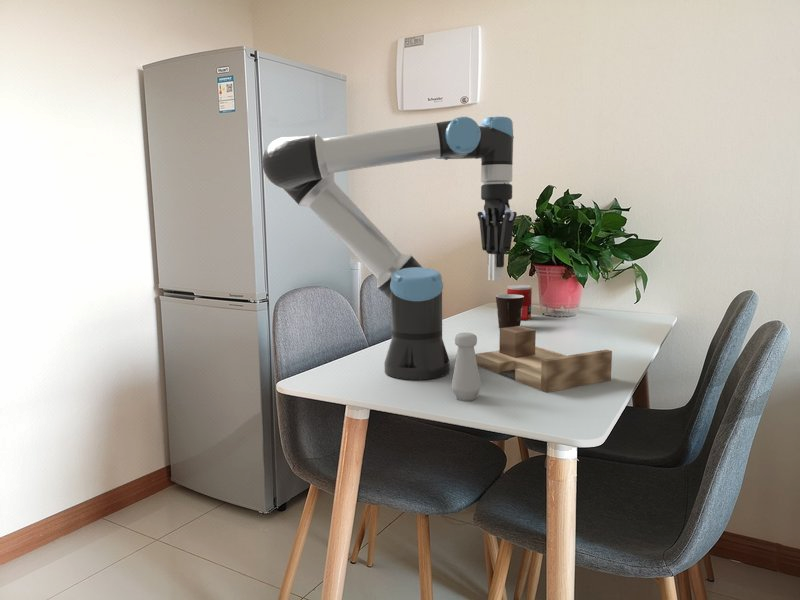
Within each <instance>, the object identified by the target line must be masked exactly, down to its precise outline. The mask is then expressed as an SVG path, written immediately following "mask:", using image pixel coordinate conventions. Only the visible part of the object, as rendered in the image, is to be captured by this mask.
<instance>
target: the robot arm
mask: <svg viewBox="0 0 800 600" xmlns="http://www.w3.org/2000/svg"><path fill="white" fill-rule="evenodd" d="M513 123H514V122H513V120H512V118H510V117H507V116H489V117H484V118H483V119H482V120H481V124H480V126H479V124H478V122H477V121H475V120H474V119H473V118H471V117H468V116H459V117H455V118H453V119H452V120H446V121H445V120H444V121H440V122H431V123H423V124H418V125H417V124H416V125H410V126H409V125H408V126H403V127H395V128H389V129H388V128H387V129H382V130H381V129H380V130H375V131H366V132H361V133H352V134H351V133H350V134H345V135H337V136H333V137H332V136H331V137H322V136H321V135H319V134H309V135H297V136H282V137H279V138H277V139H274V140H273V141H272V142H270V143H269V144H268V145H267V147H266V148H265V150H264V151H263V153H262V154H263V155H262V160H261V161H262V163H261V164H262V169H263V172H264V175H265V177H266V178H267V179H268V180H269V181H270V182H271V183H272V184H273V185H275V186H276V187H279V188H281V189H283V190H284V192H286V193H287V194H288V195H289V196H290V197H291V198H292V200H294V202H296V204H297V205H298V206H299V207H308V208H309V209H311V211H312V212H313V213H314V214H316V216H318V218H319V219H320V220H321V221H322V222H323V223H324V224H325V225H326V227H328V228H329V229H330V231H331V232H333V234H335V235H336V237H337V238H338V239H339V240H340V241H341V242H342V243H343V244H344V245H345V246H346V247H347V248H348V249H349V250H350V251H351V253H353V255H355V257H356V258H358V260H359V261H360V263H362V264H363V265H364V266H365V267H366V269H368V270H369V271H370V273H372V275H373V276H374V277H375V278H376V287H377V288H378V290H379V291H380V292H381V293H382V294H383V295H384V296H385V298H387V299H388V300H389V301H390V311H391V312H390V314H391V316H390V317H391V318H390V319H391V322H390V323H391V338H390V339H391V340H390V343H389V346H388V350H387V352H386V356H385V359H384V363H383V364H384V373H385V375H387V376H390V377H392V378H395V379H396V378H397V379H402V380H415V381H416V380H430V379H431V380H432V379H439V378H441V377H444V376H447V375H448V374H450V371H451V362H450V358H449V355H448V352H447V349H446V346H445V341H444V339H443V289H444V282H443V276H442V274H441V272H439V271H438V270H437V269H434V268H429V267H423V266H422V265H421V264H420V263H419V262H418V260H416V259H415V257H414V256H413V255H411V254H405V253H404V254H403V253H402V252H400V251H399V249H398V248H397V247H396V246H395V245H394V244H393V243H392V242H391V241H390V239H388V238H387V236H386V235H385V234H384V233H382V232H381V230H380V229H379V228H378V227H377V226H376V225H375V224H374V223H373V221H372V220H370V218H369V217H368V216H367V215H366V214H365V213H364V212H363V211H362V210H361V209H360V208H359V207H358V206H357V205H356V204H355V203H354V201H352V199H350V197H349V196H348V195H347V194H346V193H345V192H344V191H343V190H342V189H341V188H340V186H338V184H337V183H336V182H335V173H339V172H342V173H343V172H347V171H353V170H354V171H355V170H361V169H367V168H369V169H370V168H374V167H381V166H382V167H383V166H390V165H396V164H403V163H410V162H415V161H425V160H430V159H431V160H432V159H437V160H444V161H447V160H464V159H465V160H469V159H471V160H472V159H477V160H478V159H480V161H481V164H480V165H481V166H480V182H481V183H483V184H481V186H480V199H481V200H482V201H484V206H483V210H482V211H478V212H477V218H478V221H479V229H480V238H481V248H482V251H485V252H486V254H487V267H488V275H487V276H488V277H487V281H492V282H496V281H503V280H504V266H505V254H506V253H509V252H510V251H511V247H512V240H513V234H514V233H513V232H514V226H515V221H516V218H517V215H518V213H517V212H516V211H512V210H511V209H510V208H511V206H510V200H512V199H513V184H511V182H513V163H514V162H513V160H514V159H513V158H514V157H513V156H514V124H513Z"/></svg>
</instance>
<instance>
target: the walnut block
mask: <svg viewBox="0 0 800 600" xmlns="http://www.w3.org/2000/svg"><path fill="white" fill-rule="evenodd" d="M536 331H537V330H536V329H534V328H529V327H526V326H525V327H524V326H521V325H520V326H515V327H507V328H499V347H498V348H499V349H498V351H499V353H502V354H504V355H507V356H510V357H513V358H518V357H525V356H532V355H535V346H536V337H537V336H536Z"/></svg>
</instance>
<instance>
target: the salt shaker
mask: <svg viewBox="0 0 800 600" xmlns="http://www.w3.org/2000/svg"><path fill="white" fill-rule="evenodd" d="M477 337H478V336H477V335H476V334H475V333H472V332H459V333H457V334H456V335H455V337H454V344H455V345H456V346H457V352H456V358H455V362H454V363H455V364H454V370H453V375H452V380H451V386H450V387H451V390H452V393H453V394H454V397H455V398H456V400H458V401H463V402H468V401H474V400H476V398H477V397H478V395H479V392H480V390H481V387H482V386H481V385H482V384H481V379H480V374H479V369H478V368H479V366H477V361H476V356H475V354H476V352H475V351H476V350H475V347H476V346H477V343H478V338H477Z"/></svg>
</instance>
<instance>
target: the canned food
mask: <svg viewBox="0 0 800 600" xmlns="http://www.w3.org/2000/svg"><path fill="white" fill-rule="evenodd" d="M506 288H507V289H506V290H507V292H506V294H516V295H522V296H524V300H523V308H522V315H521V321H529V320H530V319H531V317H532V292H533V291H532V289H533V288H532V286H531V285H528V284H527V285H525V284H511V285H510V284H509V285H507V287H506ZM528 319H529V320H528Z"/></svg>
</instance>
